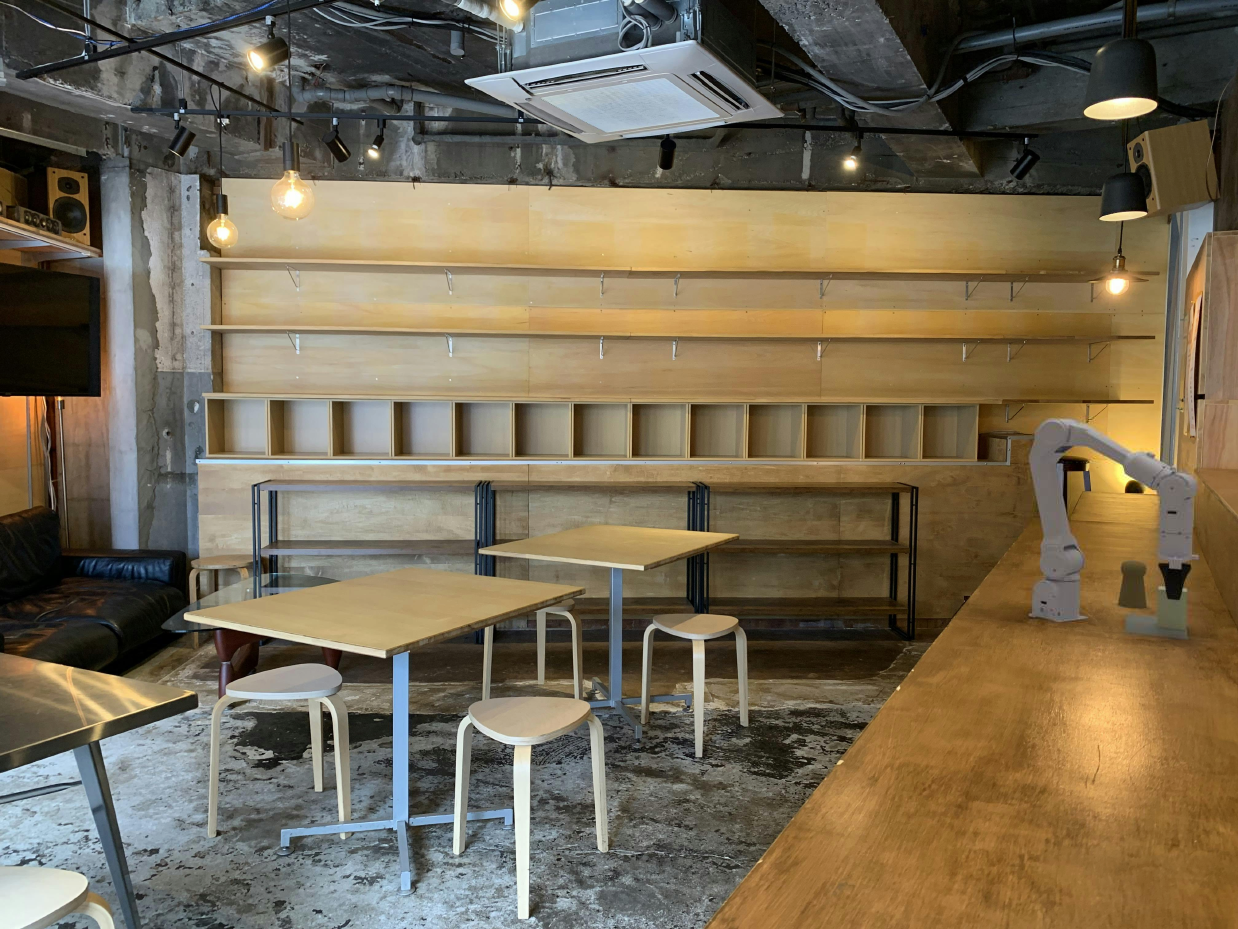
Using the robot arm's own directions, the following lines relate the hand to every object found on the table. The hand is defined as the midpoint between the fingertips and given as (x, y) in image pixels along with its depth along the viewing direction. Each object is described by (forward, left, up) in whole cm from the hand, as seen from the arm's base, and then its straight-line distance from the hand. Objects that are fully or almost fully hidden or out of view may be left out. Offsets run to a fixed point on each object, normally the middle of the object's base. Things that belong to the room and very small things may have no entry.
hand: (1173, 599), depth 180 cm
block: (+6, +4, -7) cm, 10 cm away
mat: (+4, +6, -8) cm, 10 cm away
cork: (+18, +21, -8) cm, 29 cm away
